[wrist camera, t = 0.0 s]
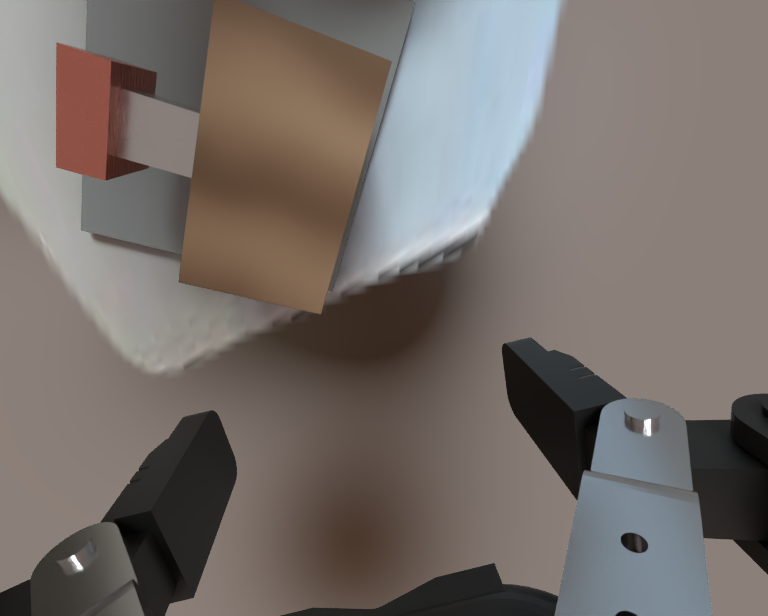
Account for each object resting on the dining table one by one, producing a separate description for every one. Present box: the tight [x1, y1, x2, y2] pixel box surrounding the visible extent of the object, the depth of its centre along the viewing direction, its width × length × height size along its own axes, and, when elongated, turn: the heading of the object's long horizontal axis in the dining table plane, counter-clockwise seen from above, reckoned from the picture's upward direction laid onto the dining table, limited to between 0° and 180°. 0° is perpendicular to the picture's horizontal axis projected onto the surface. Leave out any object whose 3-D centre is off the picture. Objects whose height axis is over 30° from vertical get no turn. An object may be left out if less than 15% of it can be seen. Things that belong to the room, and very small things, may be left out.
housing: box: [179, 0, 392, 314], centre depth 24 cm, size 12×7×12 cm, turn 162°
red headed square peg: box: [56, 43, 200, 181], centre depth 21 cm, size 5×9×5 cm, turn 72°
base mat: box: [81, 0, 415, 291], centre depth 27 cm, size 20×18×1 cm
